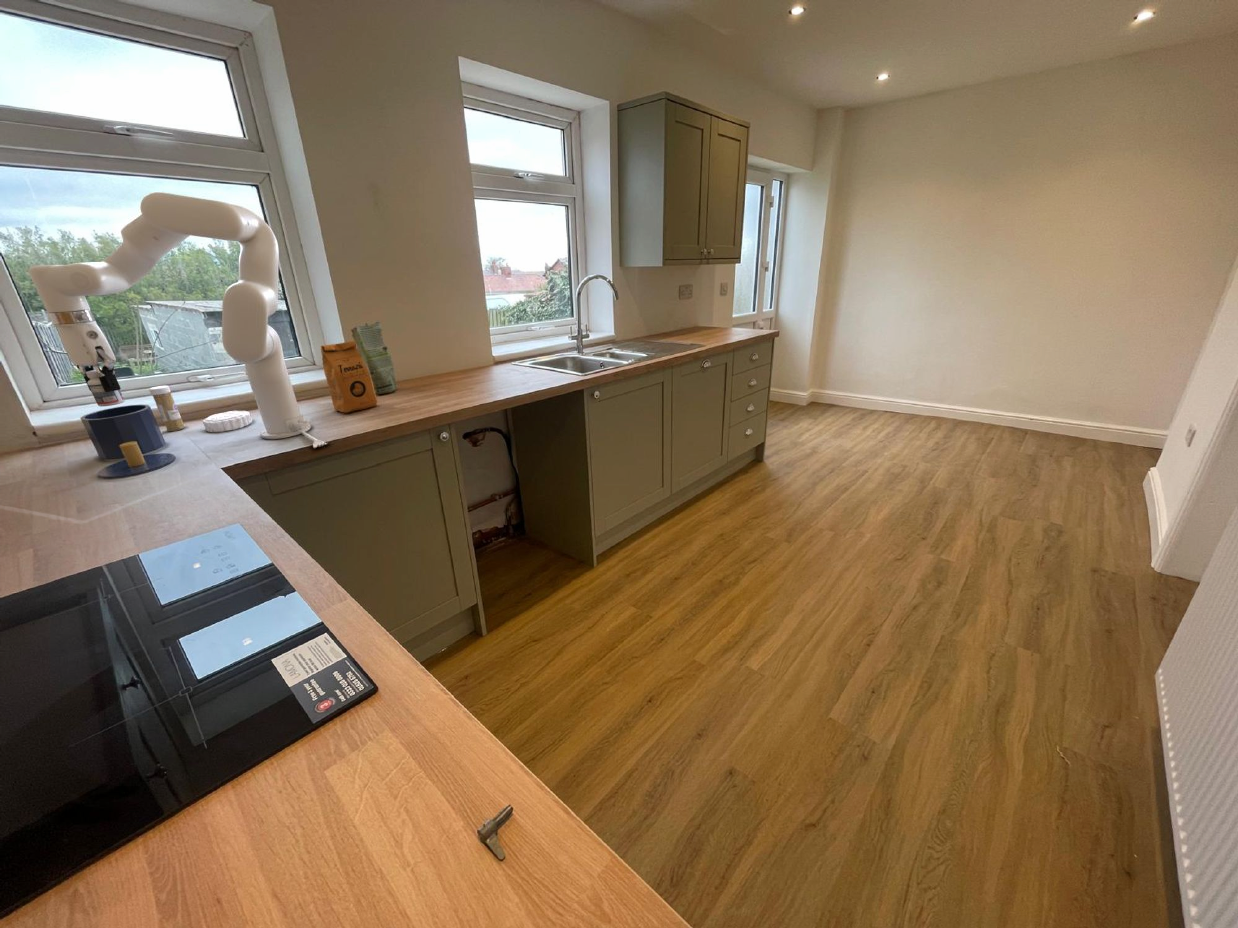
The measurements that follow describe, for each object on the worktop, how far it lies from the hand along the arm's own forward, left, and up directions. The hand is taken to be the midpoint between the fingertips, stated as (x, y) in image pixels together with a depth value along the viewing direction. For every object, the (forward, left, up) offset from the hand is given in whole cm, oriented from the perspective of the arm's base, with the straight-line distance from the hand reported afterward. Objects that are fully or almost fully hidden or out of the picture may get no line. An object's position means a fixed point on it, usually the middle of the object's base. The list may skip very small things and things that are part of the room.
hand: (105, 389), depth 131 cm
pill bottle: (0, 0, -4) cm, 4 cm away
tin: (0, 0, -18) cm, 18 cm away
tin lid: (-16, +8, -17) cm, 25 cm away
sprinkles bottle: (+10, -17, -18) cm, 27 cm away
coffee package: (-33, -46, -18) cm, 59 cm away
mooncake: (-5, -23, -18) cm, 30 cm away
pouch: (-25, -67, -18) cm, 74 cm away
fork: (-45, -18, -18) cm, 52 cm away
